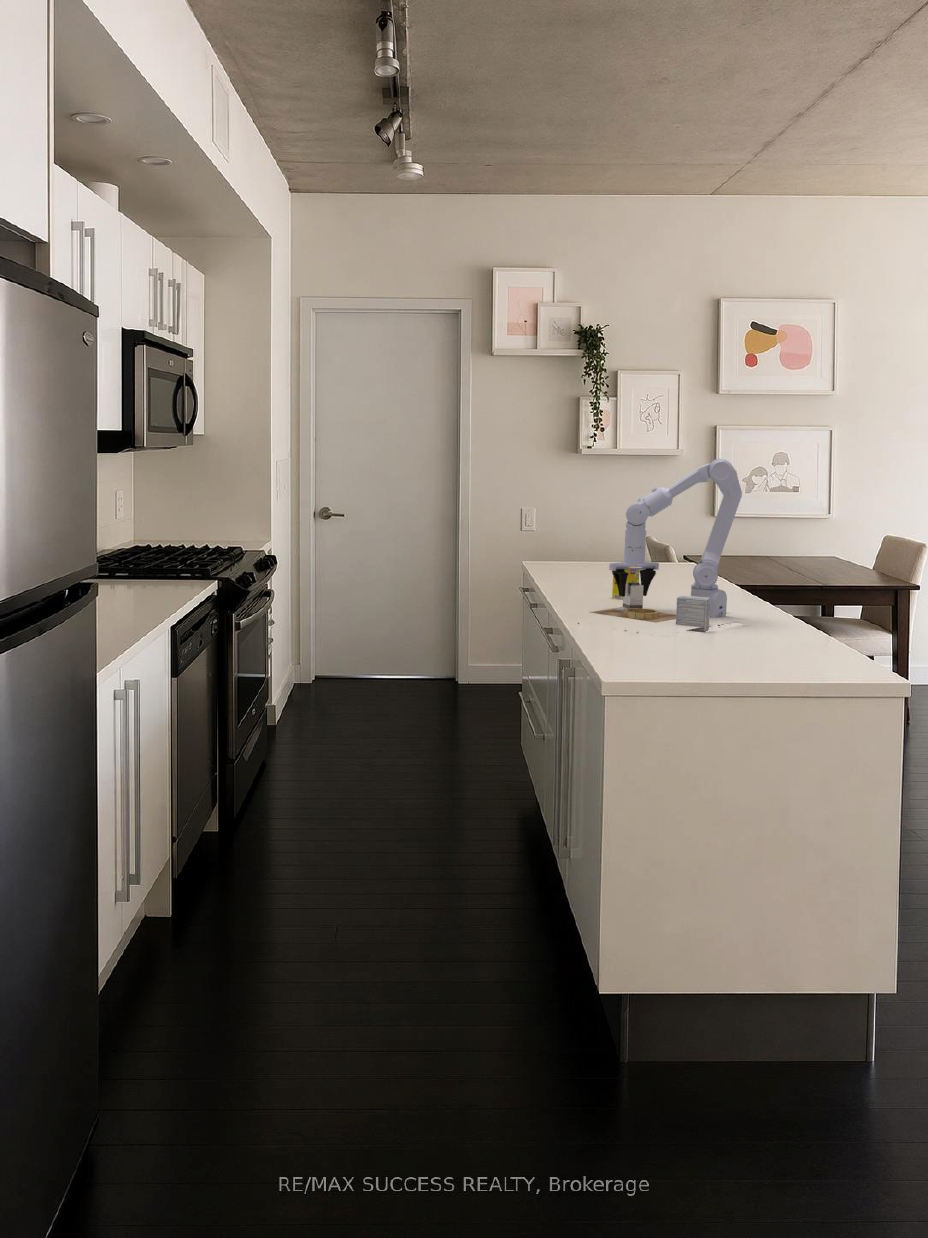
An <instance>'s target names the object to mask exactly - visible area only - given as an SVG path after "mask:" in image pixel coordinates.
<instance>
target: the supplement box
mask: <svg viewBox="0 0 928 1238" xmlns="http://www.w3.org/2000/svg"><path fill="white" fill-rule="evenodd" d="M630 568H636V567H630ZM624 571H625V572H626V573H628V576H627V581H626V584H628V582H638V583H639V584H640V570H624ZM611 599H612V600H618V601H619V600H620V601H623V597H622V596H619V591H618V587H617V583H616V580H615V578H614V576H613V575H612V591H611Z"/></svg>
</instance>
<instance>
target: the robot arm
mask: <svg viewBox="0 0 928 1238" xmlns="http://www.w3.org/2000/svg"><path fill="white" fill-rule="evenodd" d="M709 478H710V479H709ZM710 480H712V481H713V482H714V483H715V484H716V485H717V486H718V488H719V491H720V492H721V494H722V499H721V503H720V505H719V508H718V510H717V514H716V516H715V519H714V522H713V525H712V528H711V531H710V534H709V536H708V539H707V542H706V545H705V548H704V550H703V553H702V555H701V557H700V560H699V562H698V563H697V564H696V565H695V566H694V568H693V570H692V576H693V579H694V582H693V583H692V584H691V585H690V596H696V597H707V598H710V614H709V618H714V619H715V618H723V617H727V604H728V603H727V602H728V597H727V596H728V595H727V593H726V591H725V590H723V589H719V585H718V584H716V583H717V582H718V577H719V575H718V569H719V565H720V562H721V561H720V560H721V557H722V553H723V552H724V551H723V550H724V548H725V544H726V542H727V539H728V537H729V533H730V531H731V527H732V525H733V522H734V519H735V516H736V513H737V511H738V508H739V505H740V502H741V499H742V497H743V492H742V491H743V490H742V488H741V484H740V481H739V477H738V473H737V470H736V469H735V467H734V466H733V464H732V463H731V461H729V460H727V459H723V458H716V459H714V460H711V462H710V463H705V464H703V465H701V466H699V467H697V468H695V469H694V470H692V471H691V472H689V473H688V474H686V475H685V476H684V477H682V478H680V479H679V480H677V481H676V482H674V483H673V484H671V485H670V486H668V487H667V488H666V487H662V486H659V487H658V488H657V487H654V488H653V489H651V492H650V493H649V494H647V495H645V496H644V497H642V498H638V499H636V501H637V503H633V504H630V505H629V506H628V508H627V509H626V512H625V517H626V520H627V521H626V524H625V527H626V529H625V534H624V551H623V552H624V557H623V562H621V561H619V562H609V565H608V566H609V568H608V570H609V571H611V574H612V577H613V576H614V578H615V580H616V583H617V587H618V591H619V596H622V597H625V591H626V581H627V576H628V573H626V572H625V571H624V570H639V579H640V585H644V586H643V597H647V595H648V591H649V588H650V586H651V583H652V581H653V579H654V578H655V576H656V575H657V571H658V570H660V569H659V568H660V567H659V566H660V562H656V561H655V562H653V561H652V562H651V561H649V562H648V561H646V545H647V530H646V522H647V521H648V517H654V516H656V515H657V514H659V513H660V512H662V511H663V510H665V509H667V508H668V507H669V506H671V505H672V504H673V499H674V498H675V497H677V496H678V495H680V494H682V493H684V492H685V491H687V490H688V489H691V488H692V487H694V486H695V485H697V484H699V483H700V484H701V483H708V482H709V483H710ZM630 567H635V568H630Z"/></svg>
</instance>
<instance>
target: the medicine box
mask: <svg viewBox="0 0 928 1238" xmlns="http://www.w3.org/2000/svg"><path fill="white" fill-rule="evenodd" d="M675 608H676V610H675V611H676V613H675V615H676V619H675V625H679V626H680V625H681V626H690V627H696V628H692V629H686V630H685V631H687V632H700V633H701V632H702V633H706V632H708V630H710V626H709V625H710V617H709V614H710V598H707V597H696V596H691V595H680V596H678V597H676V607H675Z"/></svg>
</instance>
